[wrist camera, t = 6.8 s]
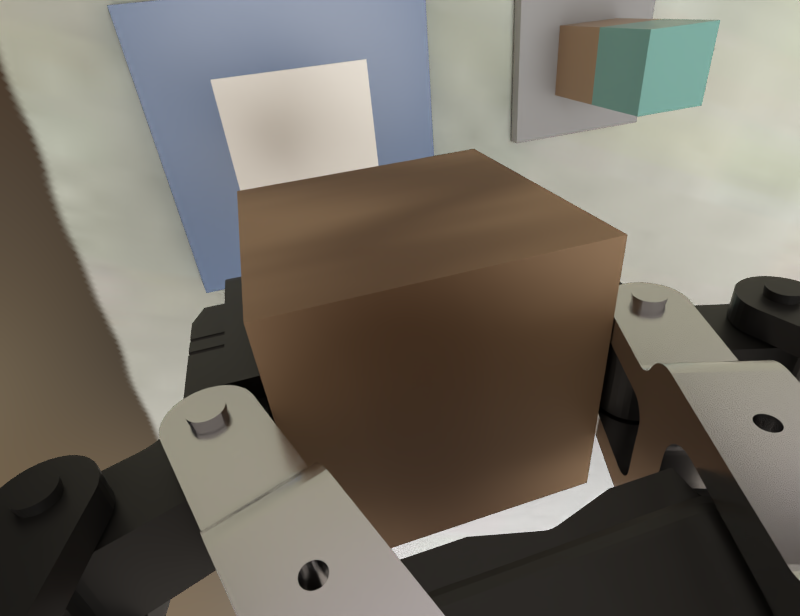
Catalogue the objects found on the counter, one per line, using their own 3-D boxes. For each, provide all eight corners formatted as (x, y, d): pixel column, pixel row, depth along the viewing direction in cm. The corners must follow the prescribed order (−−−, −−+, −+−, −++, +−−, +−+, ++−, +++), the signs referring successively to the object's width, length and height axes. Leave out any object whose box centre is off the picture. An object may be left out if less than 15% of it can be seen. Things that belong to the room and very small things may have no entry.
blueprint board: (417, -26, 21) (425, -27, 20) (433, 237, 27) (439, 244, 26) (111, 5, 19) (106, 5, 18) (207, 285, 25) (206, 293, 24)
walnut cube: (474, 148, 11) (627, 234, 7) (476, 337, 13) (586, 482, 9) (237, 191, 10) (243, 323, 6) (290, 385, 12) (321, 570, 8)
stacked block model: (652, -36, 23) (780, -51, 18) (628, 120, 27) (729, 147, 22) (515, -22, 22) (610, -33, 17) (511, 140, 26) (586, 175, 20)
